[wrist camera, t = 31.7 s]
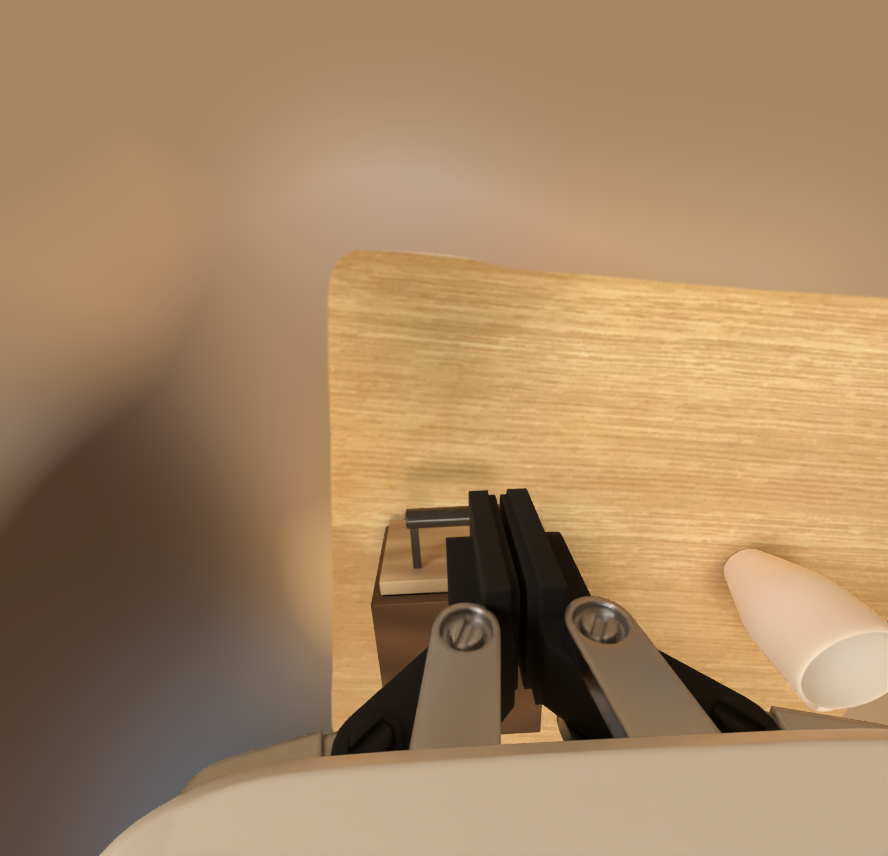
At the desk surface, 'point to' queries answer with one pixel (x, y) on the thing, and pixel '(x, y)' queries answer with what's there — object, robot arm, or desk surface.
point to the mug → (810, 630)
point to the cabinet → (408, 634)
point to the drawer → (421, 550)
